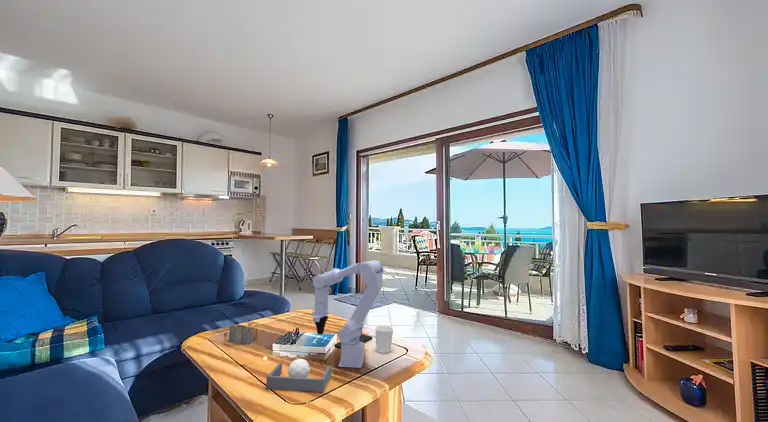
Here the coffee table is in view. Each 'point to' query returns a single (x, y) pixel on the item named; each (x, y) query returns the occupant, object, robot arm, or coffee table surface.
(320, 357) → the coffee table surface
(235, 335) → the ruin model on sheet
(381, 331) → the white cup
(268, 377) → the box
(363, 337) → the smart home device
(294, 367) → the geometric ball
